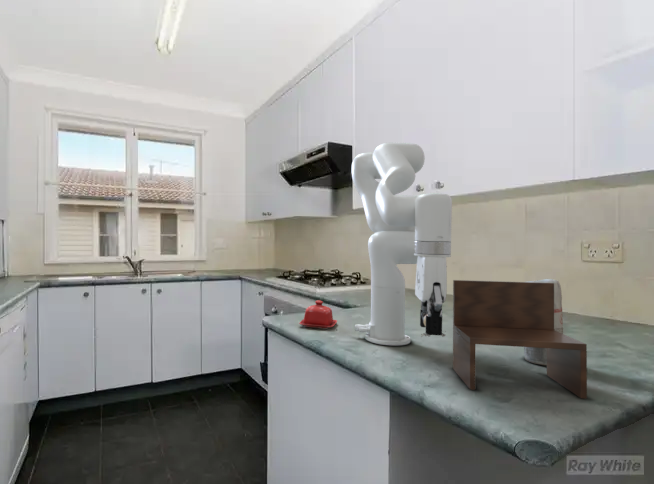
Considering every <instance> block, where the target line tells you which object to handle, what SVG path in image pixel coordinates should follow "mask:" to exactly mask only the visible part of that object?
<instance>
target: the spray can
mask: <svg viewBox="0 0 654 484" xmlns="http://www.w3.org/2000/svg"><path fill="white" fill-rule="evenodd" d="M527 282H539V283H554V330H555V331H557V332H559V333H562V334H564V325H563V324H564V320H563V304H562V303H563V302H562V301H563V295H562V287H561V283H560V281H559V280H557V279H554V278H553V279H552V278H544V279H539V280H538V279H537V280H530V281H529V280H528V281H527ZM523 352H524V353H523V354H524V360H526V361H527V362H529V363H532V364H535V365H541V366H547V348H534V347H523Z"/></svg>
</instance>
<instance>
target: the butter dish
mask: <svg viewBox="0 0 654 484" xmlns="http://www.w3.org/2000/svg"><path fill="white" fill-rule="evenodd" d="M323 303H324V301H323V300H320V299H317V300H315V304H313V305H309V306H308V307H306V309H305V311H304V315H303V316H304V317H303V319H302V320H301V321H299V325H301V326H305V327H306V328H315V329H325V330H327V329H329V328H333V327H334V326H335V325H336V324H337V323H338V320H337V319H334V317H333V310H332V308H331V307H329V306H326V305H323Z"/></svg>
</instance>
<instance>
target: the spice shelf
mask: <svg viewBox="0 0 654 484" xmlns="http://www.w3.org/2000/svg"><path fill="white" fill-rule="evenodd" d="M452 294H453V295H452V370H454V372H455V373H456V375H457V376H458V377H459V378H460V379H461V381H463V383H464V384H465V385H466V387H468V389H469V390H475V391H476V345H485V346H500V347H501V346H503V347H518V348H519V347H520V348H524V347H534V348H547V365H546V376H547V377H548V378H550V379H551V380H553V381H554V382H556V383H557V384H559V385H560V386H562V387H564V388H565V389H566V390H568V391H570V393H572V394H574V395H575V396H577V397H578V398H581V399H588V355H587V354H588V351H587V349H588V346H587V343H585V342H582V341H581V340H578V339H576V338H574V337H571V336H568V335H566V334H564V333H563V334H562V333H559V332H557V331H555V330H554V283H539V282H528V281H502V280H501V281H499V280H498V281H497V280H471V279H470V280H468V279H467V280H466V279H465V280H464V279H453V280H452Z"/></svg>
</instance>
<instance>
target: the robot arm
mask: <svg viewBox="0 0 654 484" xmlns="http://www.w3.org/2000/svg"><path fill="white" fill-rule="evenodd" d="M425 159H426V157H425V152H424V149H423V148H422V147H421V146H420V145H419V144H417V143H411V142H409V143H406V142H384V143H381V144H379V145H378V146H376V147H375V149H374V150H373V152H372V151H371V152H363V153H359V154H357V155H356V156H355V157H354V158H353V159H352V162H351V179H352V182H353V185H354V187H355V189H356V192H357V193H358V196H359V197H360V198H361V201H362V207H363V211H364V215H365V219H366V224H367V226H368V228H369V230H370V232H372V234H371V235H370V236H369V238H368V241H367V251H368V257H369V262H370V263H369V264H370V265H369V266H370V321H369V322H368V323H365V324H359V323H358V324H356V323H355V324H354V331H355V332H359V333H365V334H364V338H365V340H366V341H367V342H369V343H373V344H376V345H381V346H382V345H383V346H393V347H395V346H396V347H397V346H406V345H409V344H410V343H411V341H412V340H411V337H410V336H409V335H407V334H406V278H405V276H404V274H403V273H402V271H401V270H400V268H399V266H398V265H416V269H415V286H414V295H415V297H416V298H417V299H419V301H420V312H419V326H420V327H421V328H425V334H427V335H430V336H442V333H443V304H444V303H446V301H447V292H448V270H447V267H448V266H447V258H451V257H452V255H451V254H452V225H453V224H452V222H453V221H452V219H453V217H452V216H453V199H452V197H451V195H450V194H447V193H439V192H437V193H435V192H433V193H431V192H430V193H424V194H423V193H422V194H419V195H408V194H407V195H402V194H401V193H402V192H404V191H407V190H409V188H410V187H412V185H414V182H415V180H416V174H417V173H418V172H420V171H421V170H422V169H423V167H424V165H425ZM377 180H380V181H379V182H378V181H377ZM399 194H401V195H399ZM431 306H432V307H431ZM422 307H427V313H428V316H426V327H425V325H424V323H423V319H422V316H421V313H422V312H423V311H422ZM424 316H425V314H424Z"/></svg>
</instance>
